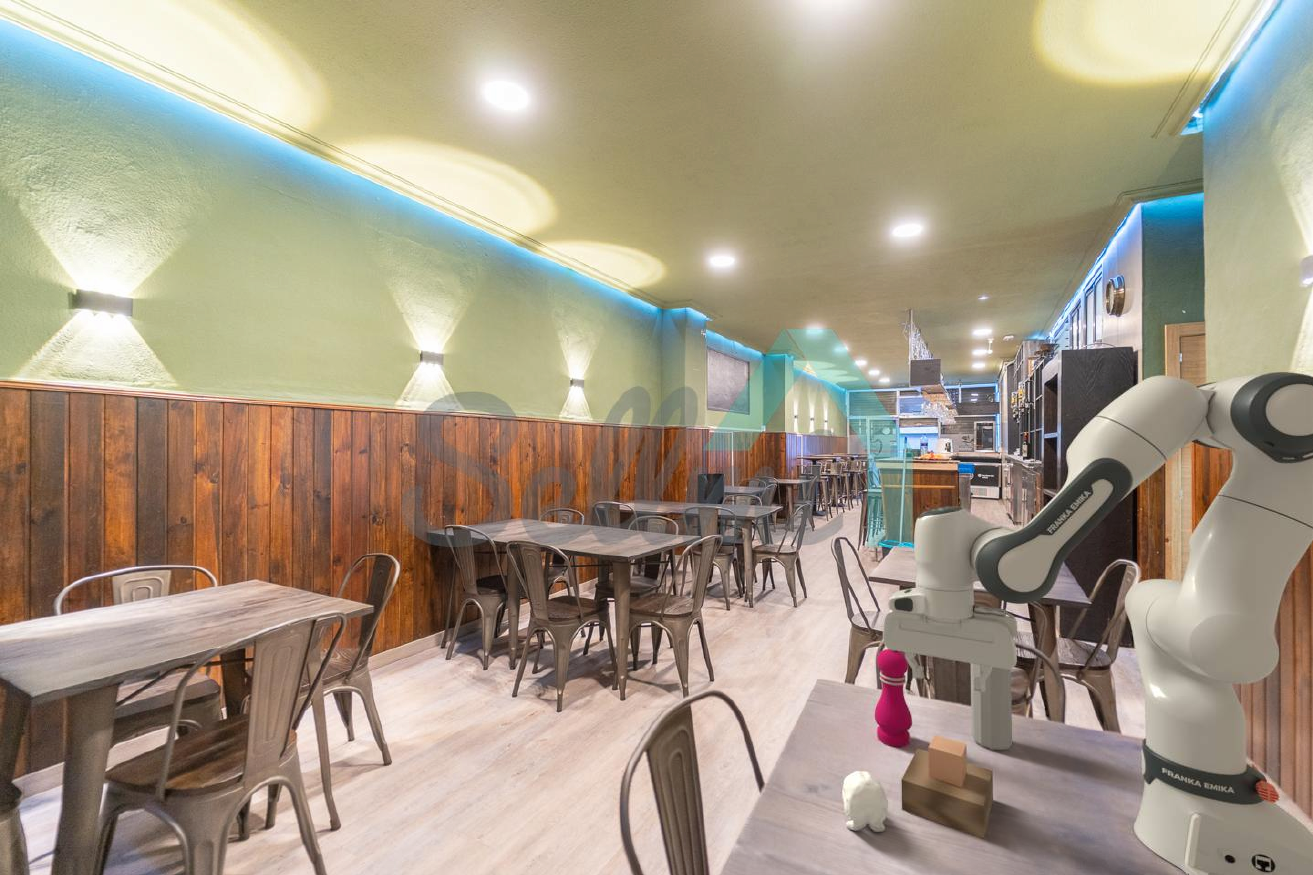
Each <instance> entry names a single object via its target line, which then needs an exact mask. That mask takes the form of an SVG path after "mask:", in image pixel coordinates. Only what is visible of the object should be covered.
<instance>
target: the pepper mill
mask: <svg viewBox="0 0 1313 875" xmlns="http://www.w3.org/2000/svg"><path fill="white" fill-rule="evenodd" d="M876 664H877V666H878V669H879V670H880V672H879V680H880V681H881V686H882V687H881V689H882V690H881V695H880V698H879V699H878V702H877V704H876V705H875V710H874V720H875V722H876V724H877V725H878V727H877V730H876V731H877V732H876V733H877V734H876V736H877V738H878V740H879V741H880V742H881V743H882V744H885V745H887V746H890V747H893V748H904V747H908V746H909V745H910V743H911V736H910V731H909V730H910V729H911V728H912V726H913V716H912V713H911V711H910V708H909V706H908V703H907V702H906V700H905V695H904V685H906V683H907V681H906V677H907V676H906V674H905V673H907V671H908V669H909V663H908V662H907V660H906V658H905V653H904V652H903V653H902V651H897V650H892V649H888V648H885V649H884V650H881V651H880V652H879V653H878V654H877V657H876Z"/></svg>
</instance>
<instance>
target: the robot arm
mask: <svg viewBox="0 0 1313 875" xmlns="http://www.w3.org/2000/svg"><path fill="white" fill-rule="evenodd" d="M1190 443H1194V444H1197V445H1199V446H1203V447H1205V448H1210V449H1216V450H1217V449H1219V450H1222V449H1224V450H1230V451H1231V450H1232V451H1231V454H1232V462H1233V463H1232V469H1231V471H1230V475H1229V478H1228V479H1227V481H1226V482H1225V483H1224V484H1223V485H1222V487H1221V489H1220V491H1218V493H1217V495H1216V496H1215V498H1214V499H1213V500H1212V502H1211V504H1210V505H1209V506H1208V509H1207V511H1205V513H1204V514H1203V516H1202V518H1201V520H1200V521H1199V523H1198V524H1197V526H1196V527H1195V529H1194V530H1193V532H1192V534H1191V535H1190V537H1189V540H1188V548H1189V555H1188V562H1187V565H1186V569H1185V572H1184V576H1183V579H1182V581H1180V580H1175V579H1166V578H1165V579H1164V578H1149V579H1146V580H1142V581H1139V582H1137V583H1136V584H1134V585H1133V586H1132V587H1131V588H1129V590H1128V591H1127V593H1126V595H1125V599H1124V609H1125V613H1126V615H1127V618H1128V620H1129V623H1130V627H1131V631H1132V632H1131V633H1132V637H1133V643H1134V649H1135V654H1136V659H1137V662H1138V667H1139V670H1140V675H1141V680H1142V686H1143V693H1144V713H1145V714H1144V715H1145V716H1144V718H1145V724H1144V726H1145V738H1143V739H1142V744H1141V745H1142V747H1141V752H1140V753H1141V754H1140V755H1141V756H1140V758H1141V773H1142V776H1143V779H1144V784H1143V785H1144V786H1143V793H1142V798H1141V802H1140V808H1139V812H1138V814H1137V818H1136V819H1135V821H1134V824H1133V831H1134V833H1135V835H1136V836H1137V838H1138V839H1139V840H1140V841H1141V842H1142V843H1143V844H1144V845H1145V846H1146V847H1147V848H1148V849H1149V850H1150V851H1152V852H1153V853H1155V854H1156V855H1158V856H1159V857H1160V858H1163V859H1164V860H1165V861H1167V862H1169V863H1170V864H1172V865H1174V866H1175V867H1177V868H1179V869H1180V870H1182V871H1183V872H1185V874H1187V875H1188V874H1189V875H1313V833H1312V831H1310V830H1309V828H1308V827H1307V826H1306V825H1305V824H1303V823H1302V822H1301V821H1300V820H1298V819H1297V818H1296V817H1294V815H1291V814H1290V813H1289V812H1288V811H1286V810H1285V809H1284V808H1283V807H1281V806H1280V805H1279V804H1278V803H1277V802H1278V801H1280V794H1279V793H1278V791H1277V790H1276V787H1275V785H1272V784H1271V783H1270V782H1268V780H1267V778H1266V776H1265V775H1264V773H1262V772H1260V771H1259V769H1258V768H1257V766H1255V765H1254V764H1253V763H1252V764H1249V763H1247V731H1246V730H1247V728H1246V727H1247V726H1246V714H1245V711H1244V708H1243V706H1242V704H1241V702H1240V700H1239V698H1238V697H1237V694H1236V692H1235V689H1234V686H1233V684H1236V685H1246V684H1252V683H1253V684H1254V683H1257V682H1259V681H1261V680H1263V679H1265V678H1267V677H1268V676H1270V675H1271V673H1272V672H1273V671H1274V670H1275V669H1276V667H1277V666H1278V663H1279V659H1280V648H1279V644H1278V642H1277V639H1276V633H1275V629H1276V628H1275V627H1276V620H1277V617H1278V612H1279V609H1280V604H1281V600H1282V596H1283V595H1284V594H1283V593H1284V590H1285V588H1286V585H1287V582H1288V581H1289V579H1290V576H1291V575H1292V573H1293V572H1294V570H1295V569H1296V567H1297V565H1298V564H1299V562H1300V561H1301V559H1302V558H1303V556H1304V555H1305V553H1306V551H1307V550H1308V548H1309V547H1310V545H1311V544H1312V542H1313V376H1312V375H1309V374H1308V375H1307V374H1305V373H1304V374H1303V373H1297V372H1290V371H1289V372H1288V371H1287V372H1286V371H1276V372H1269V373H1258V374H1247V375H1246V374H1245V375H1240V376H1236V377H1235V376H1234V377H1231V378H1229V379H1224V380H1220V381H1213V382H1208V383H1205V384H1200V385H1197V386H1196V385H1195V384H1193V383H1191V382H1190V381H1189V380H1186V379H1182V378H1180V377H1176V376H1173V375H1172V376H1171V375H1165V374H1164V375H1154V376H1153V375H1152V376H1149V377H1148V378H1145V379H1143V380H1142V381H1140V382H1138V383H1137V384H1135V385H1133V386H1132V387H1130V388H1129V389H1127V390H1126V391H1125V392H1124V393H1122V394H1120V395H1119V396H1118V397H1116V398H1115V399H1114V400H1113V401H1112V402H1110V403H1109V404H1108V405H1107V406H1105V407H1104V408H1103V409H1102V410H1101V411H1099V412H1098V414H1097V415H1095V416H1094V417H1093V418H1092V419H1091V420H1090V421H1089V422H1088V423H1087V424H1086V425H1085V426H1084V427H1083V428H1082V429H1080V431H1079V433H1078V434H1077V435H1076V437H1075V438H1074V439H1073V441H1072V442H1071V443H1070V444H1069V447H1068V448H1067V450H1066V463H1067V464H1066V465H1067V470H1068V472H1067V477H1066V481H1065V483H1064V485H1063V486H1062V488H1060V490H1059V491H1058V492H1057V493H1056V494H1055V496H1054V497H1053V498H1051V500H1050V501H1049V502H1048V503H1047V504H1046V505H1045V506H1043V508H1042V509H1041V510H1040V511H1039V512H1038V513H1037V514H1036V515H1035V516H1034V517H1033V518H1032V519H1031V520H1030V521H1029V522H1028V523H1027V524H1026V525H1024V526H1023V527H1022V528H1019V529H1017V530H1015V529H1013V528H1010V527H1008V526H1003V525H1000V524H996V523H993V522H991V521H988V520H985V519H983V518H980V517H979V516H977V515H974V514H973V513H971V512H969V511H967V510H966V509H965V508H964V507H962V506H958V505H957V506H956V505H954V506H953V505H952V506H940V507H933V508H930V509H927V510H924V511H923V512H922V513H920V514H919V516H918V517H917V519H916V521H915V526H914V534H913V535H914V536H913V538H914V540H913V547H914V548H913V549H914V550H913V551H914V553H913V554H914V556H913V557H914V561H915V565H916V567H917V568H916V569H917V575H916V578H915V587H912V588H906V589H901V590H900V589H899V590H898V591H896V592H894V593H893V594H891V595H890V596H889V598H888V600H887V606H888V609H889V610H888V611H887V612H886V613H885V615H884V619H883V627H882V643H883V645H885V647H886V649H892V650H897V651H900V652H903V653H904V655H905V658H906V660H907V662H908V666H909V667H910V669H911V670H912V678H913V679H916V680H923V679H924V677H925V676H924V673H925V672H924V670H925V669H924V666H921V665H918V663H917V662H918V661H916V658H915V657H916V656H917V655H921V656H928V657H934V658H937V659H938V658H939V659H943V660H944V659H945V660H949V661H950V660H951V661H957V662H962V663H966V664H971V663H972V664H978V665H981V671H982V672H984V673H983V674H982V676H981V677H975V679H974V690H976V691H981V692H985V681H986V679H987V678H988V676H989V675H990V673H991V671H992V667H995V668H1001V669H1007V670H1010V669H1011V670H1012V669H1013V668H1014V667H1015V666H1016V665H1017V661H1018V660H1017V659H1018V658H1017V657H1018V656H1017V648H1016V642H1015V636H1016V635H1017V634H1018V621H1017V619H1016V617H1015V616H1014V615H1013V614H1012V613H1010V612H1007V611H1006V609H1003V608H992V607H988V606H979V605H975V599H974V598H975V597H974V583H975V582H979V583H981V585H982V587H983V588H984V590H986V592H988V594H990V595H992V597H995V598H996V599H997V600H1000V601H1003V602H1005V603H1009V604H1013V605H1014V604H1015V605H1016V604H1017V605H1024V604H1030V603H1033V602H1037V601H1039V600H1041V599H1042V598H1044V597H1045V596H1046V595H1047V594H1049V593H1050V592H1051V590H1052V589H1053V588H1054V585H1055V583H1056V581H1057V579H1058V576H1059V574H1060V571H1061V568H1062V565H1063V564H1064V562H1065V561H1066V559H1067V558H1068V557H1069V555H1070V554H1071V553H1072V552H1073V551H1074V549H1075V548H1077V546H1079V544H1080V543H1082V541H1084V539H1086V538H1087V536H1088V535H1090V533H1092V531H1093V530H1094V529H1095V528H1096V527H1097V526H1098V525H1100V523H1101V522H1102V521H1103V520H1104V519H1105V518H1106V517H1108V515H1109V514H1110V513H1111V512H1112V511H1113V510H1114V509H1115V508H1116V506H1117V505H1118V504H1119V503H1120V502H1121V501H1122V500H1123V499H1124V498H1126V497H1127V496H1128V495H1129V494H1130V493H1132V491H1133V490H1134V489H1136V488H1137V487H1139V486H1140V485H1141V484H1142V483H1143V482H1144V481H1145V480H1147V479H1149V477H1150V476H1152V475H1153V474H1154V473H1156V472H1157V471H1158V470H1159V469H1160V468H1161V467H1162V466H1163V465H1164V464H1165V463H1167V461H1169V460H1170V459H1171V458H1172V457H1173V456H1174V455H1175V454H1176V453H1177V452H1178V451H1179V450H1180V449H1182V448H1183V447H1185V446H1186V445H1188V444H1190Z"/></svg>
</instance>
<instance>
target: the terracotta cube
mask: <svg viewBox="0 0 1313 875" xmlns="http://www.w3.org/2000/svg"><path fill="white" fill-rule="evenodd" d="M927 749H928V752H929V777H931V778H934V779H937V780H940V781H943V782H947V783H950V784H953V785H956V786H959V787H962V786H963V783H964V780H965V777H966V774H967V763H968V760H967V755H968V754H967V743H965V742H961V741H958V740H954V739H952V738H947V737H943V736H940V735H936V734H934V735H933V737H932V738H931V741H930V743H929V745H928V748H927Z"/></svg>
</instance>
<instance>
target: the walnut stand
mask: <svg viewBox="0 0 1313 875" xmlns="http://www.w3.org/2000/svg"><path fill="white" fill-rule="evenodd" d="M993 774H994V773H993V769H989V768H986V767H983V766H978V765H975V764H972V763H969V762H967V774H966V777H965V780H964V783H963V786H962V787H959V786H956V785H953V784H950V783H947V782H943V781H940V780H937V779H934V778H931V777H929V751H927V750H924V749H921V748H916V751H915V753H914V755H913V757H912V758H911V760H910V762H909V764H908V766H907V768H906V770H905V772H904V773H903V776H902V778H901V780H900V782H901V810H902V811H905V812H907V813H911V814H913V815H916V816H919V817H922V818H925V819H928V820H931V821H932V822H936V823H939V824H941V825H945V826H946V827H951V828H953V829H956V830H957V831H958V830H959V831H962V832H964V833H966V834H970V835H973V836H976V837H979V838H980V839H985V835H986V832H987V827H988V823H989V819H990V814H991V810H992V807H993V806H992V805H993V801H994V780H993V779H994V778H993V777H994V775H993Z"/></svg>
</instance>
